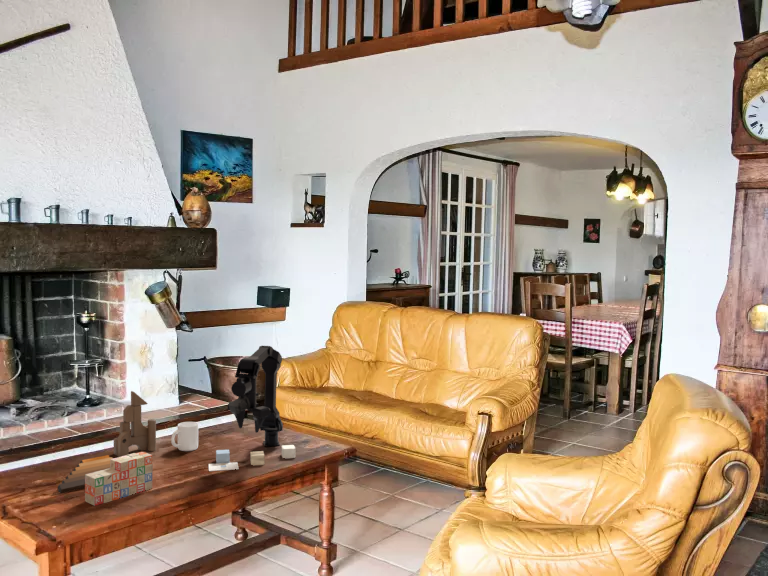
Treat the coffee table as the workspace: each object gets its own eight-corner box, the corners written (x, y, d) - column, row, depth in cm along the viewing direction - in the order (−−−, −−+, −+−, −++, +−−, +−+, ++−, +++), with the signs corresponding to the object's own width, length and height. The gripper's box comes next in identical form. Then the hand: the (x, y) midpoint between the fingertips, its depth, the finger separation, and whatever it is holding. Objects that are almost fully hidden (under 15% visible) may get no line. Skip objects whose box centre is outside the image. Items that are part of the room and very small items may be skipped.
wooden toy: (120, 458, 271) (119, 396, 270) (113, 454, 276) (112, 393, 275) (157, 450, 282) (157, 390, 280) (150, 446, 287) (150, 388, 285)
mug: (176, 454, 277) (176, 429, 276) (165, 450, 282) (165, 425, 282) (202, 448, 286) (202, 424, 285) (190, 444, 291) (190, 420, 291)
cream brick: (281, 455, 279) (281, 445, 279) (293, 454, 281) (293, 444, 280) (283, 458, 275) (283, 449, 274) (295, 458, 276) (295, 448, 276)
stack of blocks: (94, 506, 222) (94, 469, 221) (84, 501, 226) (84, 465, 225) (152, 488, 239) (152, 454, 238) (142, 484, 243) (142, 450, 242)
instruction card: (208, 464, 265) (208, 463, 265) (237, 462, 268) (237, 462, 268) (208, 471, 258) (208, 470, 258) (238, 469, 261) (238, 468, 261)
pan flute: (61, 495, 233) (133, 479, 250) (61, 485, 232) (133, 470, 249) (38, 476, 251) (106, 462, 268) (38, 467, 250) (106, 453, 268)
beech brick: (250, 461, 270) (250, 451, 270) (263, 461, 271) (263, 451, 271) (251, 465, 265) (251, 455, 265) (264, 465, 267) (264, 455, 266)
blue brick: (216, 460, 272) (216, 450, 271) (228, 459, 273) (229, 449, 273) (216, 464, 267) (216, 454, 266) (229, 463, 268) (229, 453, 268)
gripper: (216, 390, 265) (216, 430, 266) (249, 398, 254) (249, 439, 255) (238, 386, 274) (238, 424, 275) (271, 393, 263) (271, 432, 264)
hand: (248, 430), depth 267 cm, fingers open, 9 cm apart
